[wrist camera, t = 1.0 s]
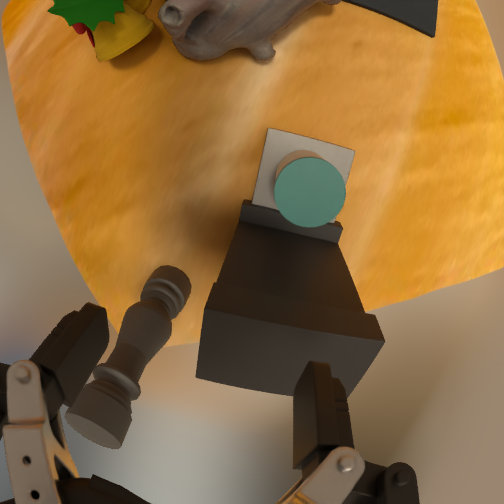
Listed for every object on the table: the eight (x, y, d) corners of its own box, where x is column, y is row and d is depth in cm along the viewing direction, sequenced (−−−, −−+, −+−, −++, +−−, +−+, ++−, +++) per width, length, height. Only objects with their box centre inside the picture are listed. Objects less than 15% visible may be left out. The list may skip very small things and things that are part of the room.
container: (281, 142, 30) (283, 149, 23) (337, 157, 30) (354, 168, 24) (269, 196, 33) (266, 218, 26) (322, 209, 33) (334, 234, 26)
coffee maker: (259, 125, 31) (233, 134, 13) (361, 152, 31) (452, 200, 13) (232, 257, 38) (195, 377, 20) (320, 277, 38) (344, 401, 20)
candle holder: (164, 306, 43) (94, 446, 20) (143, 272, 41) (50, 408, 18) (198, 296, 41) (137, 453, 19) (178, 260, 39) (88, 413, 17)
